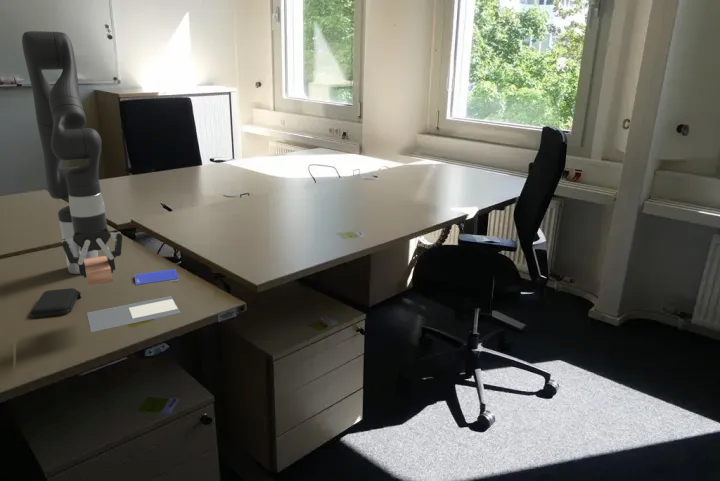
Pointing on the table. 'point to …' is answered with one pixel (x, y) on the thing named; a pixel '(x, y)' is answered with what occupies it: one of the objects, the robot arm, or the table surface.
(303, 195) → the table surface
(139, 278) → the hard drive
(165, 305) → the mat
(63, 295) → the carrying case or bag
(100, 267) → the block
